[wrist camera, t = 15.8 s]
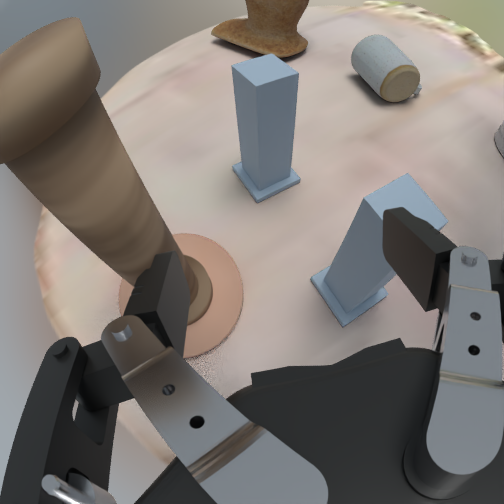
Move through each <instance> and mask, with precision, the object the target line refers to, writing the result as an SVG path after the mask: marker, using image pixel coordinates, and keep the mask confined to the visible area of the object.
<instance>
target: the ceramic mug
mask: <svg viewBox="0 0 504 504" xmlns="http://www.w3.org/2000/svg"><path fill="white" fill-rule="evenodd" d="M351 63H352V66H353V68H354V69H355V71H356V72H357V73H358V74H359V75H360V76H361V77H362V78H363V79H364V80H365V81H366V82H367V83H368V84H369V85H370V86H371V87H372V88H373V90H374V91H375V92H376V93H377V94H378V95H379V96H380V97H382V98H383V99H384V100H386V101H389V102H399V101H402V100H405V99H407V98H408V97H410V96H411V95H412V94H418V93H419V92H420V90H421V89H422V87H421V85H420V83H419V82H420V74H419V71H418V69H417V68H416V66H415V65H414V64H413V62H412V61H411V60H410V59H409V58H408V57H407V56H406V55H405V54H404V53H403V52H402V51H401V50H400V49H399V48H398V47H397V46H396V45H395V44H394V43H393V42H392V41H391V40H390V39H388V38H387V37H385V36H382V35H372V36H368V37H366V38H364V39H363V40H362V41H360V42H359V43H358V44H357V45H356V47H355V48H354V50H353V52H352V56H351Z"/></svg>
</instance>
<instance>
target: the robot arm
mask: <svg viewBox="0 0 504 504" xmlns="http://www.w3.org/2000/svg"><path fill="white" fill-rule="evenodd" d="M495 142H496V145H497V147H498V149H499V151H500V153H501V154H502V156H503V157H504V121H503V123H502V124H501V125H500V127H499V129H498V131H497V132H496V134H495ZM382 249H383V254H384V257H385V259H386V261H387V262H388V263H389V265H390V266H391V267H392V268H393V270H394V271H395V272H396V273H397V275H398V276H399V277H400V279H401V280H402V281H403V282H404V284H405V285H406V286H407V288H408V289H409V290H410V292H411V293H412V294H413V296H414V297H415V298H416V300H417V301H418V302H419V304H420V305H421V306H422V308H423V309H424V310H425V312H427V311H430V310H433V309H436V308H438V309H439V313H438V317H437V323H436V329H435V334H434V340H433V345H432V350H430V349H425V348H405V346H404V344H403V342H402V341H401V339H400V338H398V339H395V340H391V341H388V342H385V343H381V344H378V345H374V346H371V347H367V348H365V349H363V350H361V351H359V352H357V353H355V354H353V355H352V356H350V357H348V358H346V359H344V360H342V361H340V362H338V363H335V364H333V365H326V366H288V367H283V368H278V369H272V370H267V371H261V372H256V373H251V378H252V385H250V386H247V387H245V388H243V389H241V390H239V391H237V392H236V393H234V394H232V395H231V396H229V397H228V398H227V399H225V398H224V397H222V396H221V395H220V394H219V393H218V392H217V391H216V390H215V389H214V388H213V387H212V386H211V385H210V384H209V383H207V382H206V381H205V380H204V379H203V378H202V377H201V376H200V375H199V374H198V373H197V372H196V371H195V370H194V369H193V368H192V367H191V366H190V365H189V364H188V363H187V362H186V361H185V360H184V359H183V355H184V346H185V338H186V330H187V322H188V314H189V307H190V290H189V286H188V283H187V280H186V277H185V274H184V271H183V268H182V266H181V263H180V260H179V257H178V254H177V252H176V251H175V250H173V251H169V252H164V253H159V254H156V255H155V257H154V259H153V262H152V265H151V267H150V268H149V269H145V270H144V271H143V272H142V273H141V275H140V276H139V277H138V278H137V280H136V283H135V285H134V288H133V290H132V293H131V296H130V298H129V300H128V303H127V306H126V308H125V311H124V314H123V316H122V317H119V318H117V319H115V320H114V321H112V322H111V323H109V324H108V325H107V326H106V327H105V329H104V330H103V332H102V335H101V340H100V341H97V342H95V343H92V344H89V345H87V346H84V347H82V346H81V344H80V343H79V342H78V340H77V339H76V338H74V337H66V338H62V339H60V340H58V341H57V342H55V343H54V344H53V345H52V346H51V347H50V348H49V349H48V351H47V352H46V354H45V357H44V359H43V361H42V364H41V366H40V368H39V371H38V374H37V376H36V378H35V381H34V383H33V386H32V389H31V391H30V394H29V397H28V399H27V402H26V405H25V408H24V411H23V413H22V416H21V419H20V423H19V426H18V429H17V432H16V435H15V439H14V442H13V446H12V449H11V452H10V456H9V460H8V464H7V468H6V472H5V476H4V481H3V486H2V491H1V495H0V504H117V503H116V501H115V499H114V497H113V496H112V495H111V494H110V493H109V492H108V485H109V474H110V465H111V455H112V447H113V440H114V433H115V426H116V419H117V413H118V406H119V403H121V402H124V401H127V400H130V399H133V398H135V399H136V401H137V402H138V404H139V405H140V407H141V408H142V410H143V411H144V413H145V414H146V416H147V417H148V418H149V420H150V421H151V423H152V424H153V425H154V427H155V428H156V430H157V431H158V432H159V434H160V435H161V436H162V438H163V439H164V440H165V442H166V443H167V444H168V445H169V447H170V448H171V449H172V451H173V452H174V453H175V454H176V457H175V458H174V460H173V461H172V462H171V463H170V464H169V465H168V466H167V468H166V469H165V470H164V471H163V472H162V473H161V474H160V476H159V477H158V478H157V479H156V480H155V481H154V483H152V485H151V486H150V487H149V488H148V489H147V490H146V491H145V492H144V494H142V495H141V497H140V498H139V499H138V500H137V501H136V502H135V503H134V504H504V381H502V341H503V343H504V254H503V258H502V260H488V258H487V256H486V255H485V254H484V253H483V252H481V251H480V250H478V249H476V248H472V247H467V246H462V247H457V246H456V245H455V244H454V243H452V242H451V241H450V240H449V239H448V238H447V237H445V236H444V235H443V234H440V232H439V231H438V230H437V229H436V228H435V229H434V227H433V226H432V225H431V224H430V223H429V222H427V221H426V220H423V219H421V218H418V217H415V216H414V215H413V214H411V213H410V212H409V211H408V210H406V209H405V208H404V207H397V208H392V209H386V210H385V211H384V212H383V238H382ZM75 399H76V400H77V401H78V402H79V404H78V408H77V412H76V416H75V420H74V421H73V416H72V410H73V406H74V402H75Z"/></svg>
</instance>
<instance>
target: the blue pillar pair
mask: <svg viewBox="0 0 504 504" xmlns="http://www.w3.org/2000/svg"><path fill="white" fill-rule="evenodd" d="M232 75H233V84H234V94H235V103H236V113H237V122H238V132H239V141H240V151H241V160H242V162H239V163H237V164H235V165H233V166H232V167H233V170H234V172H235V173H236V174H237V176H238V177H239V178H240V180H241V181H242V183H243V184H244V185H245V187H246V188H247V190H248V191H249V192H250V194H251V195H252V196H253V198H254V199H255V201H256V202H257V203H259V202H261V201H263V200H265V199H267V198H269V197H271V196H273V195H275V194H277V193H279V192H281V191H283V190H285V189H287V188H289V187H291V186H293V185H295V184H297V183H299V182H300V179H301V178H300V177H299V176H298V175H297V174H296V173H295V171H294V170H293V169H292V168H291V161H292V151H293V139H294V128H295V116H296V103H297V90H298V77H299V73H298V72H297V71H295V70H294V69H293V68H291V67H290V66H289V65H287V64H286V63H285V62H283V61H282V60H280V59H279V58H278V57H276V56H275V55H273V54H268V55H264V56H261V57H257V58H254V59H250V60H247V61H244V62H241V63H237V64H234V65H232ZM397 207H404V208H405V209H406V210H408V211H409V212H410V213H411V214H413V215H414V216H415V217H418V218H421V219H423V220H426V221H427V222H429V223H430V224H431V225H432V226H433V227H434V229H435V228H436V229H437V230H438V231H440V230H441V229H442V228H443V227H444V226H445V225H446V223H447V222H448V220H447V219H446V218H445V216H444V215H443V214H442V213H441V211H440V210H439V209H438V208H437V206H436V205H435V204H434V203H433V201H432V200H431V199H430V198H429V197H428V196H427V194H426V193H425V192H424V191H423V190H422V189H421V187H420V186H419V185H418V184H417V183H416V182H415V181H414V179H413V178H412V177H411V176H410V175H409V174H408V173H407V174H405V175H403V176H401V177H400V178H398V179H396V180H394V181H392V182H391V183H389V184H387V185H385V186H384V187H382V188H380V189H378V190H376V191H375V192H373V193H371V194H369V195H368V196H366V197H364V198H363V201H362V203H361V205H360V207H359V209H358V211H357V213H356V216H355V218H354V220H353V222H352V224H351V226H350V228H349V230H348V232H347V234H346V236H345V238H344V240H343V242H342V244H341V246H340V248H339V250H338V252H337V254H336V256H335V258H334V260H333V262H332V264H331V265H330V266H329V267H327V268H325V269H324V270H322V271H320V272H319V273H317V274H316V275H314V276H312V277H311V281H312V282H313V284H314V285H315V287H316V288H317V290H318V291H319V293H320V294H321V296H322V297H323V299H324V300H325V302H326V303H327V305H328V306H329V308H330V309H331V311H332V312H333V314H334V315H335V317H336V318H337V320H338V321H339V323H340V324H341V326H342V327H344V326H345V325H347V324H348V323H349V322H351V321H352V320H354V319H355V318H357V317H358V316H359V315H361V314H362V313H364V312H365V311H367V310H368V309H369V308H371V307H372V306H373V305H375V304H376V303H378V302H379V301H380V300H382V299H383V298H384V297H386V296H387V295H388V293H387V291H386V290H385V288H384V287H383V286H384V285H386V284H387V283H388V282H389V281H390V280H391V279H392V278H393V277H394V276H395V275H396V274H397V273H396V272H395V271H394V270H393V268H392V267H391V266H390V265H389V263H388V262H387V261H386V259H385V257H384V254H383V249H382V238H383V212H384V211H385V210H386V209H392V208H397Z"/></svg>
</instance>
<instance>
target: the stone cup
mask: <svg viewBox="0 0 504 504" xmlns="http://www.w3.org/2000/svg"><path fill="white" fill-rule="evenodd" d="M245 1H246V5H247V10H248V18H244V19H231V20H228V21H225V22H223V23H221V24H219V25H218V26H216V27H215V28H214V29H213V30H212V32H211V34H212V35H213V36H215V37H218V38H221V39H223V40H226V41H228V42H231V43H233V44H236V45H239V46H241V47H244V48H247V49H249V50H252V51H255V52H258V53H261V54H264V55H268V54H273V55H275V56H276V57H278V58H281V57H289V56H292V55H295V54H298V53H300V52H301V51H303V50H304V49H305V48H306V47H307V45H308V41H307V40H306V39H305V38H303V37H302V36H301V35H300V34H298V32H297V24H298V22H299V20H300V18H301V16H302V14H303V13H304V11H305V9H306V7H307V5H308V2H309V0H245Z"/></svg>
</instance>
